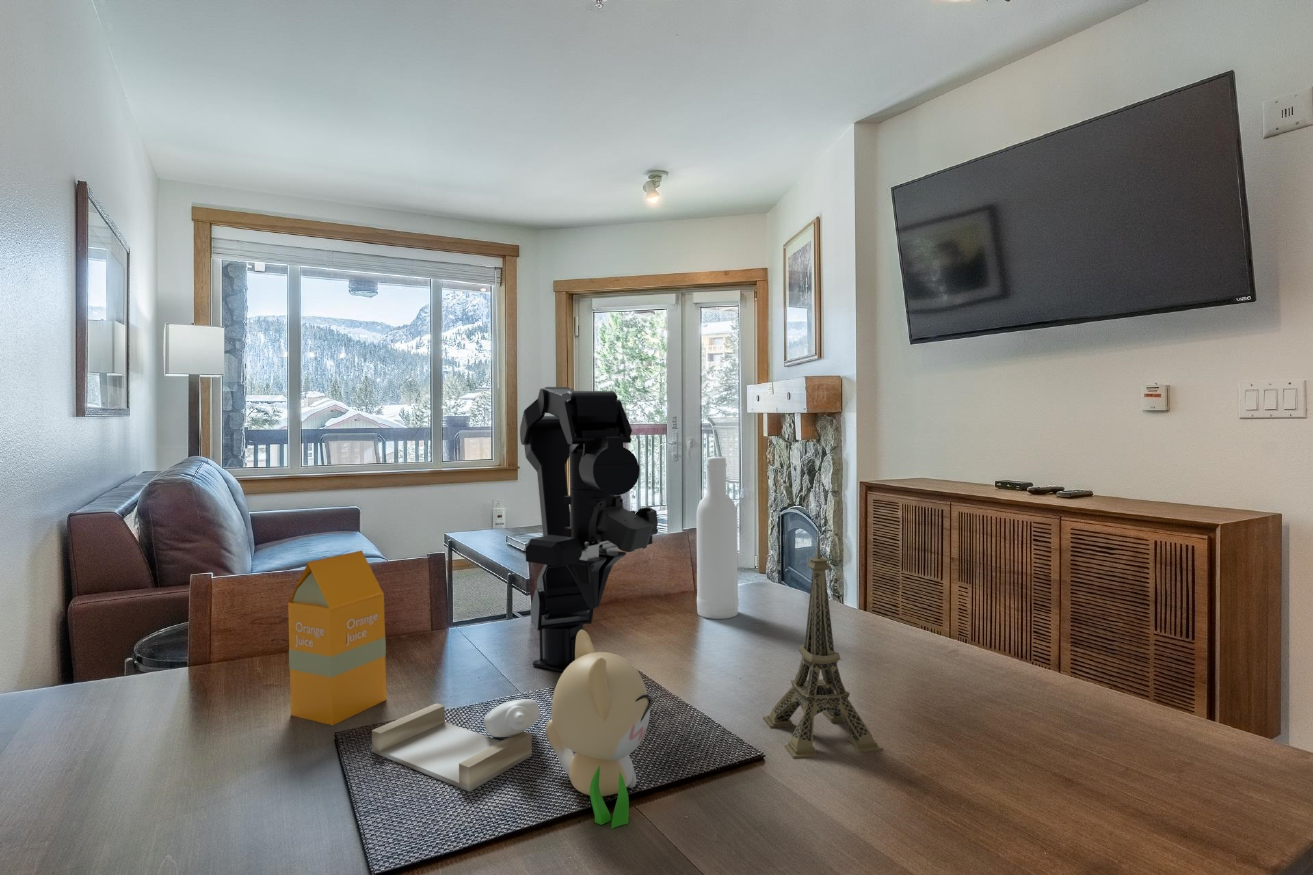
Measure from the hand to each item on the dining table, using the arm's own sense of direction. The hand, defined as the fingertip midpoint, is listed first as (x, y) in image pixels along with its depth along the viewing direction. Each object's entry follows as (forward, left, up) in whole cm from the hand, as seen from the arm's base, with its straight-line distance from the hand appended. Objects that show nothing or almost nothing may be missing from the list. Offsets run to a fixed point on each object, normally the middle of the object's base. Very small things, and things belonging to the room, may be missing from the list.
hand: (593, 607), depth 92 cm
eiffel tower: (+28, +8, -13) cm, 32 cm away
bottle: (-7, +47, -13) cm, 50 cm away
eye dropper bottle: (-4, -11, -11) cm, 17 cm away
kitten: (+14, -16, -13) cm, 25 cm away
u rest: (-5, -19, -13) cm, 24 cm away
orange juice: (-28, -18, -13) cm, 36 cm away
